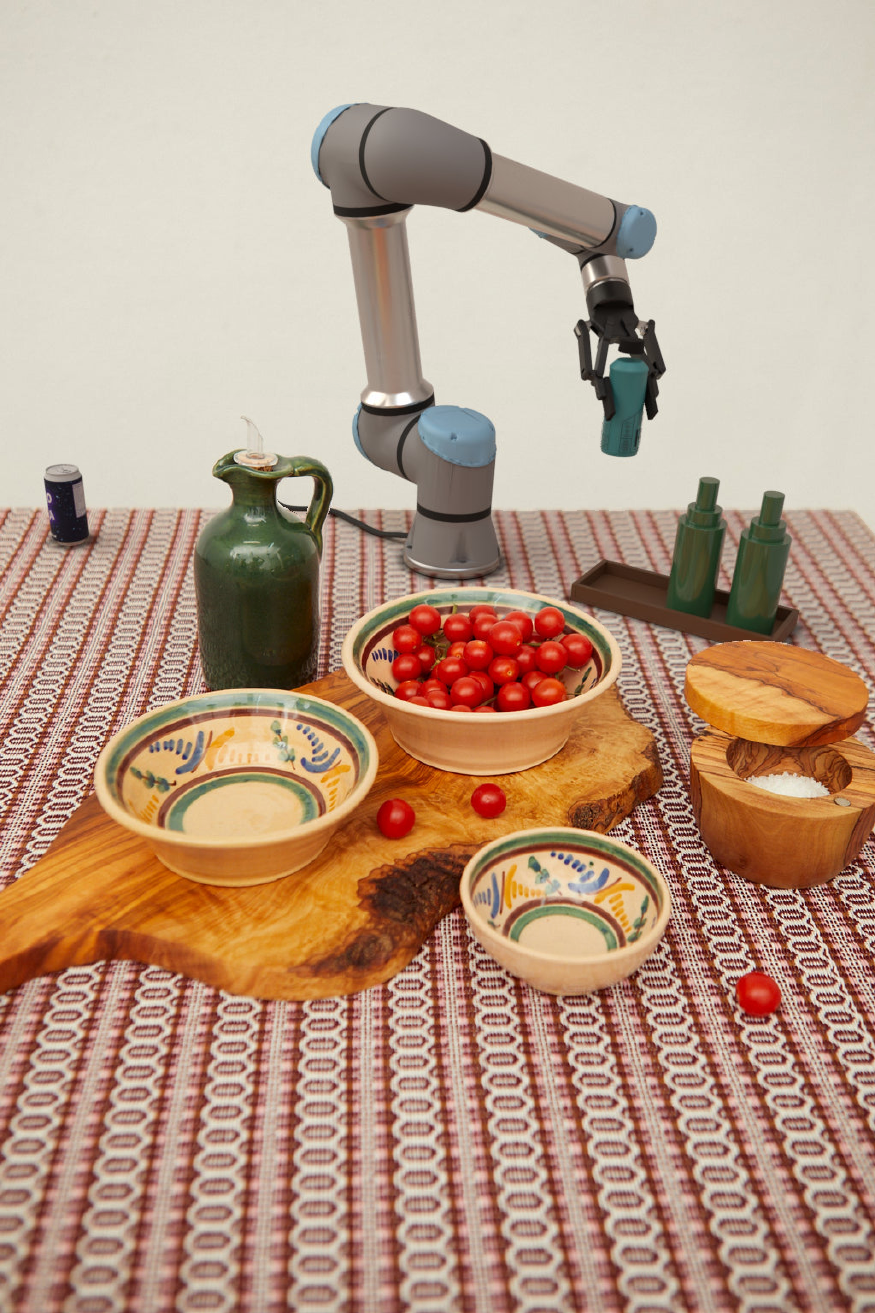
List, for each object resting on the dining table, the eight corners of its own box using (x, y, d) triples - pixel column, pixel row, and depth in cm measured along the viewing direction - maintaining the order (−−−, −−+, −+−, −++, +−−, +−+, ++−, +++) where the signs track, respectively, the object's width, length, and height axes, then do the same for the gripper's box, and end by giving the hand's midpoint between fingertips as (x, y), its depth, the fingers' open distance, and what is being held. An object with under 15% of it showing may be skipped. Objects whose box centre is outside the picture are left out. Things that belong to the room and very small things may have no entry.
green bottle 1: (657, 613, 159) (677, 481, 149) (674, 596, 164) (694, 468, 154) (702, 625, 156) (725, 491, 146) (718, 608, 161) (741, 478, 151)
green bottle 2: (717, 629, 155) (741, 495, 145) (733, 612, 160) (757, 481, 150) (764, 642, 151) (792, 506, 142) (779, 624, 157) (806, 492, 147)
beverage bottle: (636, 468, 179) (654, 344, 170) (595, 463, 180) (611, 340, 171) (638, 456, 185) (655, 335, 175) (598, 452, 186) (613, 331, 176)
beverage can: (74, 531, 178) (65, 460, 173) (97, 540, 176) (88, 468, 170) (45, 541, 174) (34, 469, 169) (68, 550, 172) (58, 477, 166)
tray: (569, 599, 163) (571, 583, 162) (602, 573, 172) (603, 558, 170) (772, 657, 149) (775, 640, 148) (796, 626, 158) (799, 609, 157)
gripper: (653, 305, 187) (679, 426, 181) (545, 305, 183) (567, 429, 177) (670, 278, 180) (697, 403, 174) (558, 277, 176) (582, 405, 170)
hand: (632, 416), depth 175 cm, fingers closed on beverage bottle, 6 cm apart
